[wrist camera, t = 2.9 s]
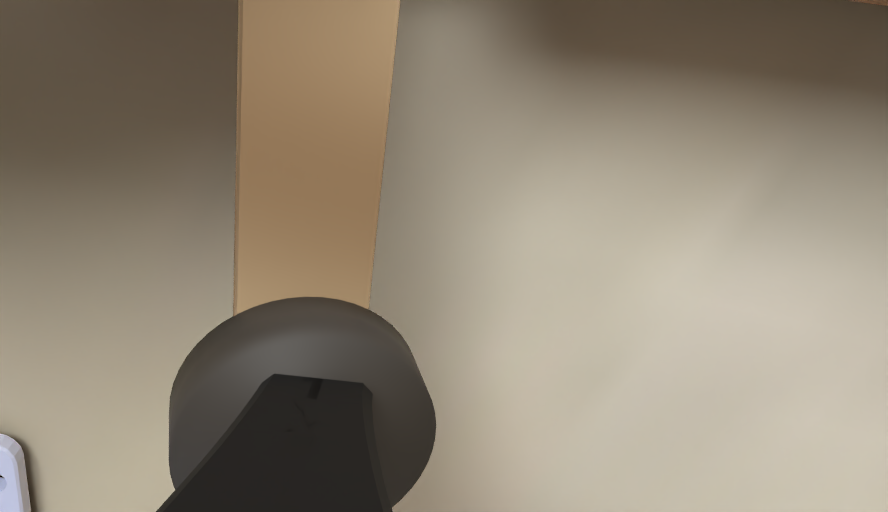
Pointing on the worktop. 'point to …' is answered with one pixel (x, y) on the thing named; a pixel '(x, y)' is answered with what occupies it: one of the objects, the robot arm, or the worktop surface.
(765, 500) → the worktop surface
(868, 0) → the stand
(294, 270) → the lever
